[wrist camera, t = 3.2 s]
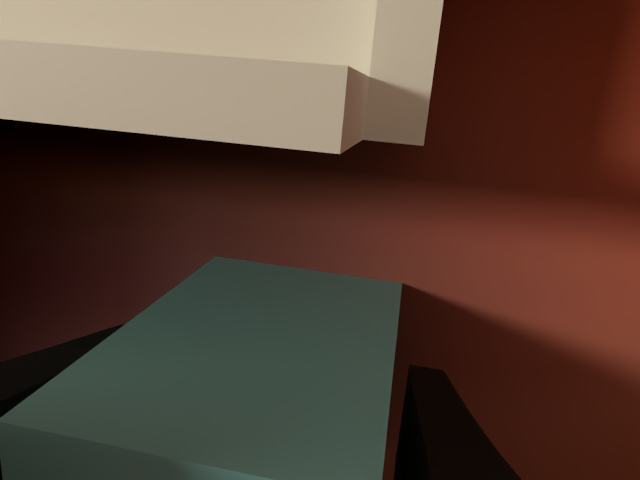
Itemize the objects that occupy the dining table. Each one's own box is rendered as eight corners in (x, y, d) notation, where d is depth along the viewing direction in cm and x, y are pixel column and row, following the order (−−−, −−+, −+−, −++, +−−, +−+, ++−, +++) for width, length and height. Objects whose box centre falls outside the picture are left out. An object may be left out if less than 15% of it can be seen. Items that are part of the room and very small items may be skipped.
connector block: (379, 449, 11) (339, 792, 6) (211, 416, 12) (25, 694, 6) (402, 282, 10) (380, 501, 5) (215, 256, 11) (-4, 420, 5)
